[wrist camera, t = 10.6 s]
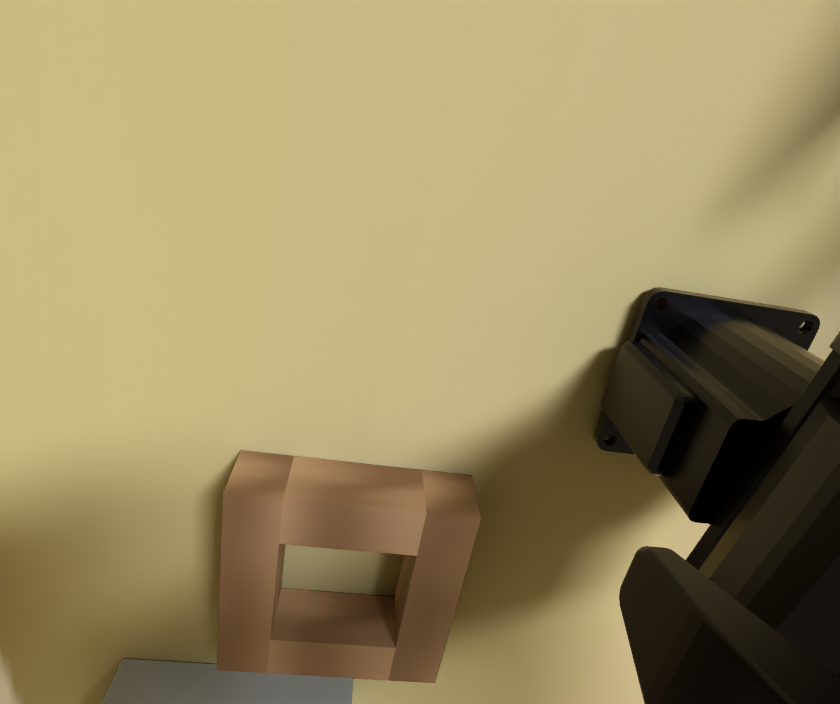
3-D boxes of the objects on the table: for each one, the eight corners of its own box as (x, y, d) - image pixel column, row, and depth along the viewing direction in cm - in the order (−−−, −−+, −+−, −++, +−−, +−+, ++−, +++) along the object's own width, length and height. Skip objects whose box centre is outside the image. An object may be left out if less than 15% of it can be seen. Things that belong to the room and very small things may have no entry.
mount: (471, 475, 22) (481, 518, 20) (430, 631, 25) (434, 683, 23) (240, 450, 21) (222, 493, 18) (232, 616, 24) (216, 670, 22)
